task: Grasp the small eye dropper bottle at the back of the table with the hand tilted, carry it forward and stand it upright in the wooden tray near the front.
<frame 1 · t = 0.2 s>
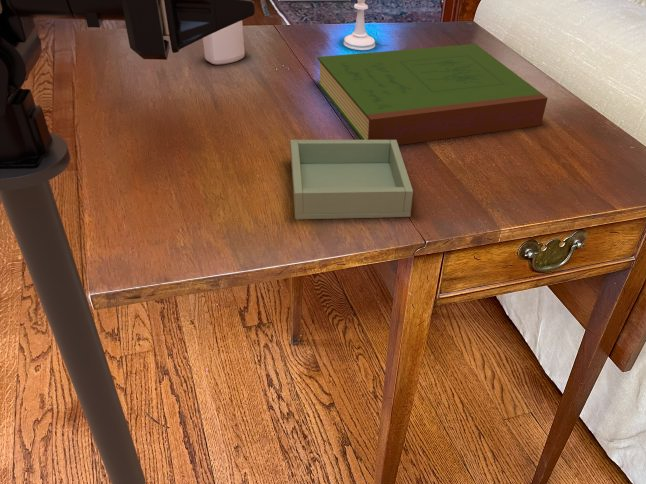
chess piece: (359, 45, 99), on the table
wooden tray: (348, 190, 68), on the table
hardcover book: (429, 105, 85), on the table
eye dropper bottle: (225, 60, 91), on the table
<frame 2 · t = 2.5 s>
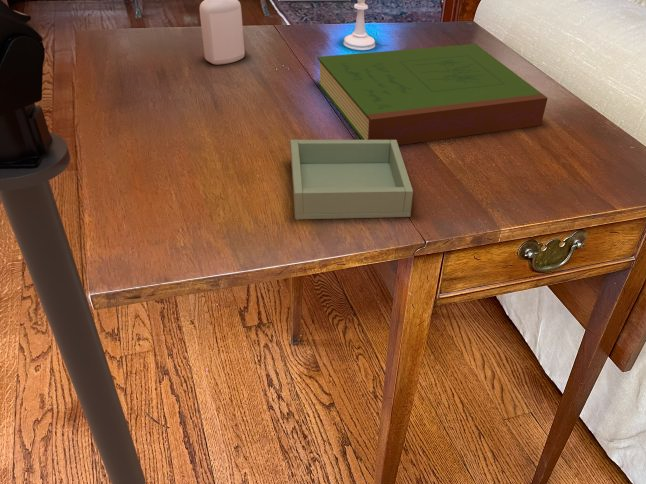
nothing on the table moved.
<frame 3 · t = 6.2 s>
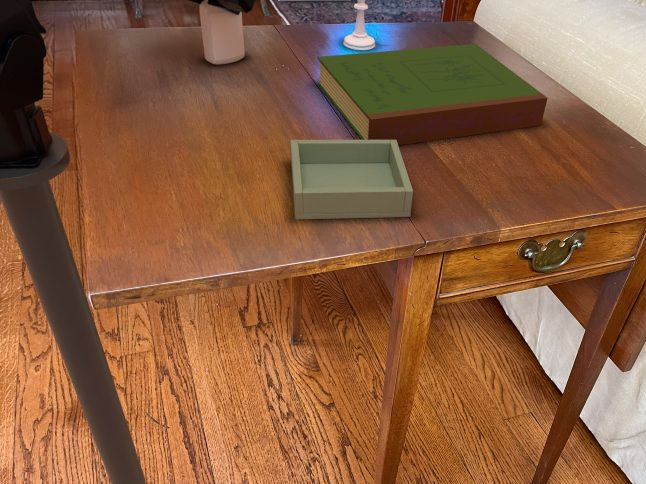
hand: (227, 8, 87), 7 cm above the table, tool tilted 45°, fingers closed on eye dropper bottle, 4 cm apart
eye dropper bottle: (225, 60, 91), on the table, touching gripper
everything else where it was.
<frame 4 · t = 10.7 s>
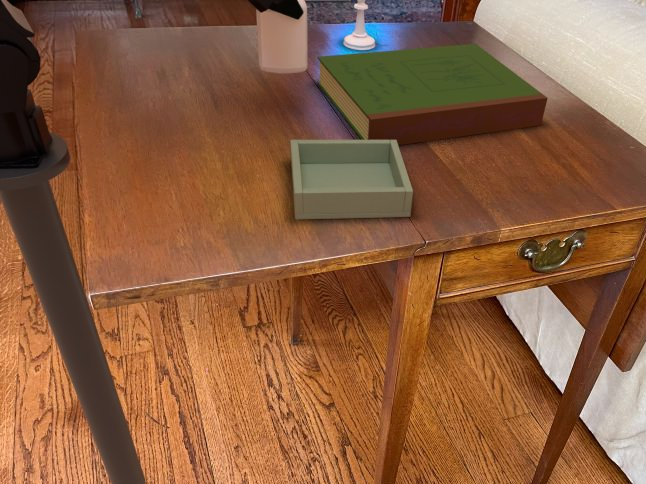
hand: (293, 10, 72), 12 cm above the table, tool tilted 45°, fingers closed on eye dropper bottle, 4 cm apart
eye dropper bottle: (283, 70, 76), point 6 cm above the table, touching gripper
everything else where it was.
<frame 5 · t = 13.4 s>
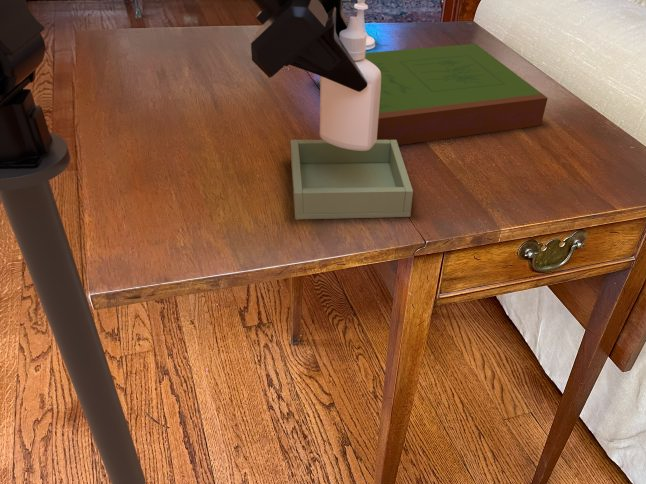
hand: (365, 79, 60), 12 cm above the table, tool tilted 45°, fingers closed on eye dropper bottle, 4 cm apart
eye dropper bottle: (347, 143, 64), point 5 cm above the table, touching gripper
everything else where it was.
when the fingers open (7 cm above the table, at t = 15.2 s): eye dropper bottle stays where it is, resting on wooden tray.
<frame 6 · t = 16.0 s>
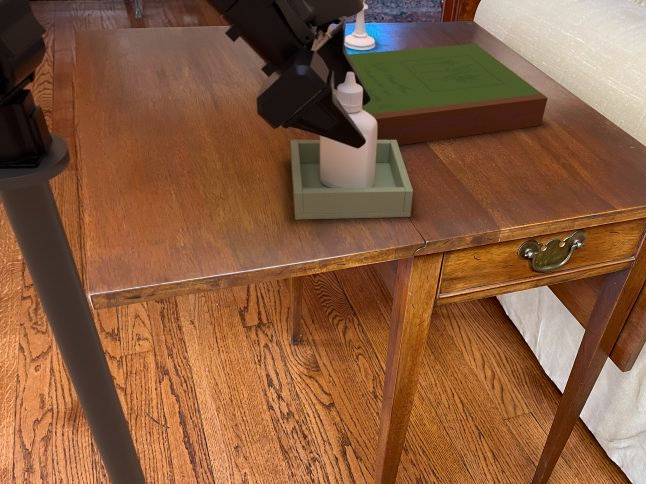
hand: (365, 122, 63), 8 cm above the table, tool tilted 45°, fingers open, 9 cm apart
eye dropper bottle: (346, 186, 67), resting on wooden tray
everything else where it was.
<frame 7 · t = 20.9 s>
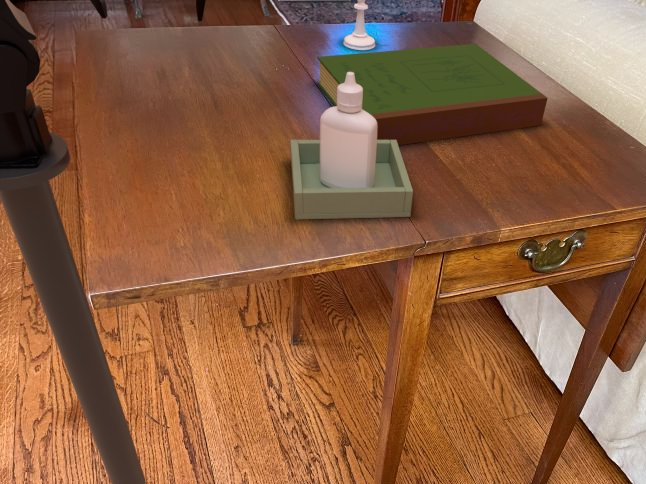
hand: (153, 18, 65), 13 cm above the table, tool pointing down, fingers open, 9 cm apart
nothing on the table moved.
at the end: eye dropper bottle inside the target area in the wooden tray (0.2 cm from its centre), point 0.4 cm above the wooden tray's base; eye dropper bottle tilted 0°; the gripper is holding nothing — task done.
